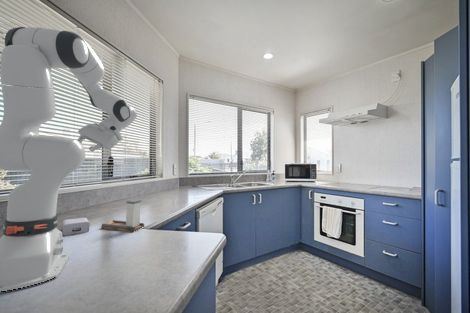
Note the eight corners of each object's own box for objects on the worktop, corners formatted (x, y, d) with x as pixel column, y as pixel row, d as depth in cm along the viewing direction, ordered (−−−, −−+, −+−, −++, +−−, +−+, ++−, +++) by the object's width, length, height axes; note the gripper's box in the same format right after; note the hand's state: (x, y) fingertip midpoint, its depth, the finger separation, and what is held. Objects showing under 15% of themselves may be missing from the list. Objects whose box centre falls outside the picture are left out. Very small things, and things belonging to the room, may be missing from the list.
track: (144, 227, 108) (144, 223, 108) (133, 232, 100) (133, 227, 100) (113, 224, 111) (114, 220, 111) (101, 228, 104) (101, 224, 104)
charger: (84, 224, 110) (89, 232, 98) (61, 227, 104) (62, 236, 93) (85, 214, 110) (89, 221, 99) (61, 217, 104) (63, 224, 93)
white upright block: (140, 225, 107) (141, 200, 107) (132, 228, 102) (134, 201, 102) (132, 224, 108) (133, 199, 108) (125, 227, 103) (126, 201, 103)
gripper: (91, 117, 110) (65, 134, 103) (120, 130, 104) (94, 149, 96) (97, 127, 115) (72, 143, 107) (125, 140, 109) (101, 159, 101)
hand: (83, 146), depth 101 cm, fingers open, 8 cm apart
